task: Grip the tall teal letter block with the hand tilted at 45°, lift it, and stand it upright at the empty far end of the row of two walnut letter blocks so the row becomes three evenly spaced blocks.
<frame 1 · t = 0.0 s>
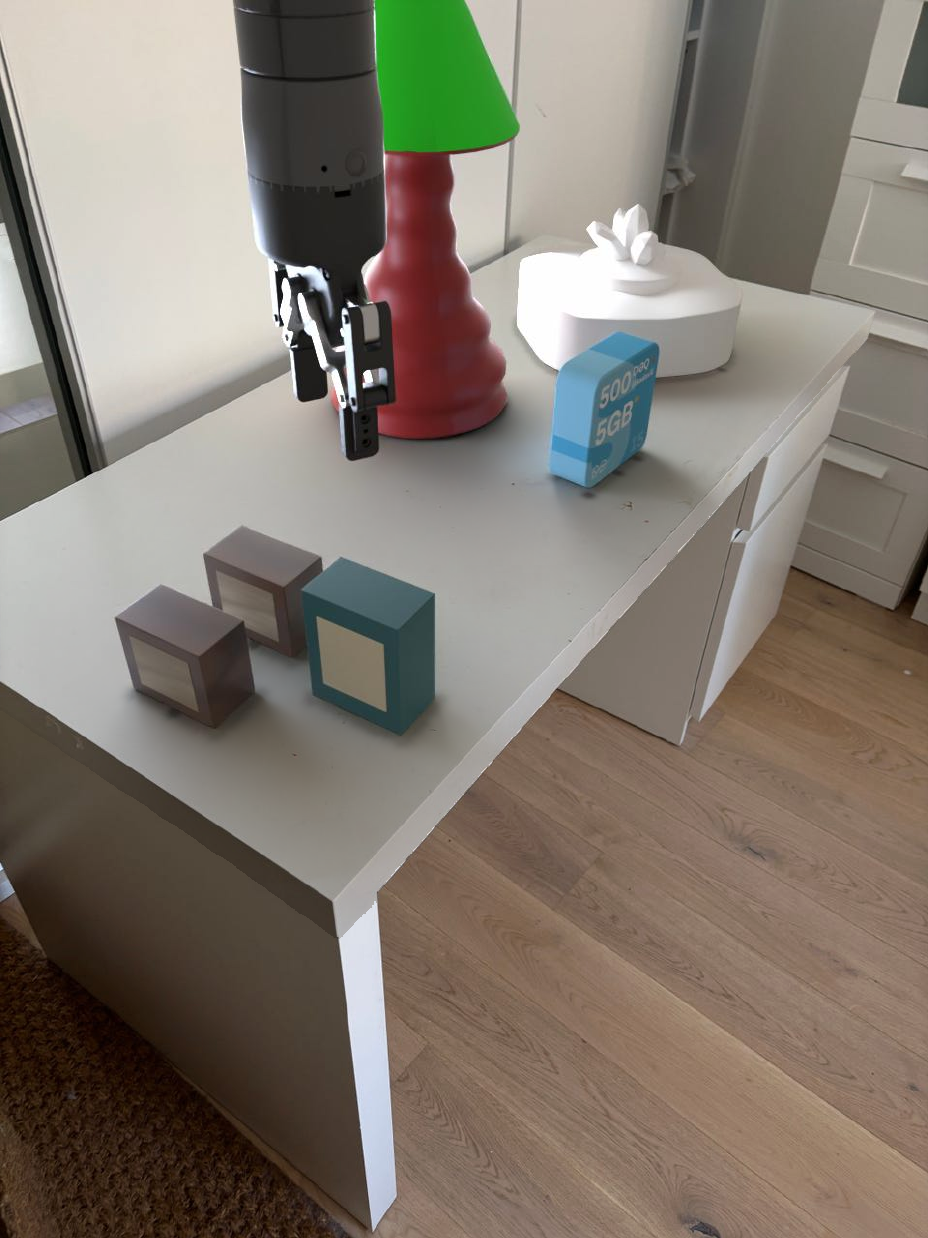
hand: (335, 425, 63), 20 cm above the table, tool pointing down, fingers open, 8 cm apart
walnut block 2: (271, 624, 79), on the table
table lamp: (419, 400, 109), on the table
walnut block 1: (194, 689, 73), on the table
teal block: (373, 696, 72), on the table
data package: (597, 463, 100), on the table
crystal-topped trinket box: (621, 336, 124), on the table
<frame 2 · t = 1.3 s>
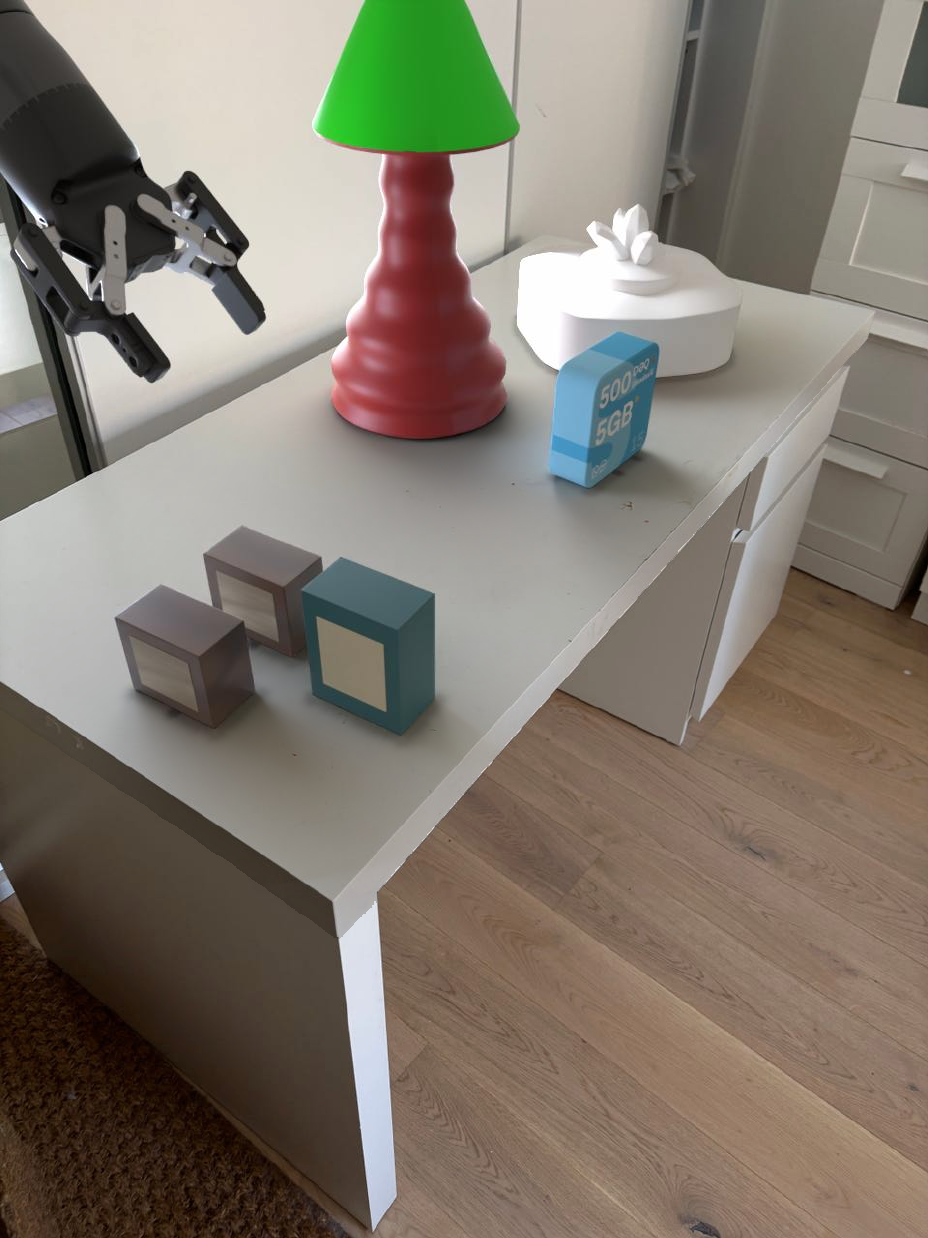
hand: (212, 350, 61), 25 cm above the table, tool tilted 45°, fingers open, 8 cm apart
nothing on the table moved.
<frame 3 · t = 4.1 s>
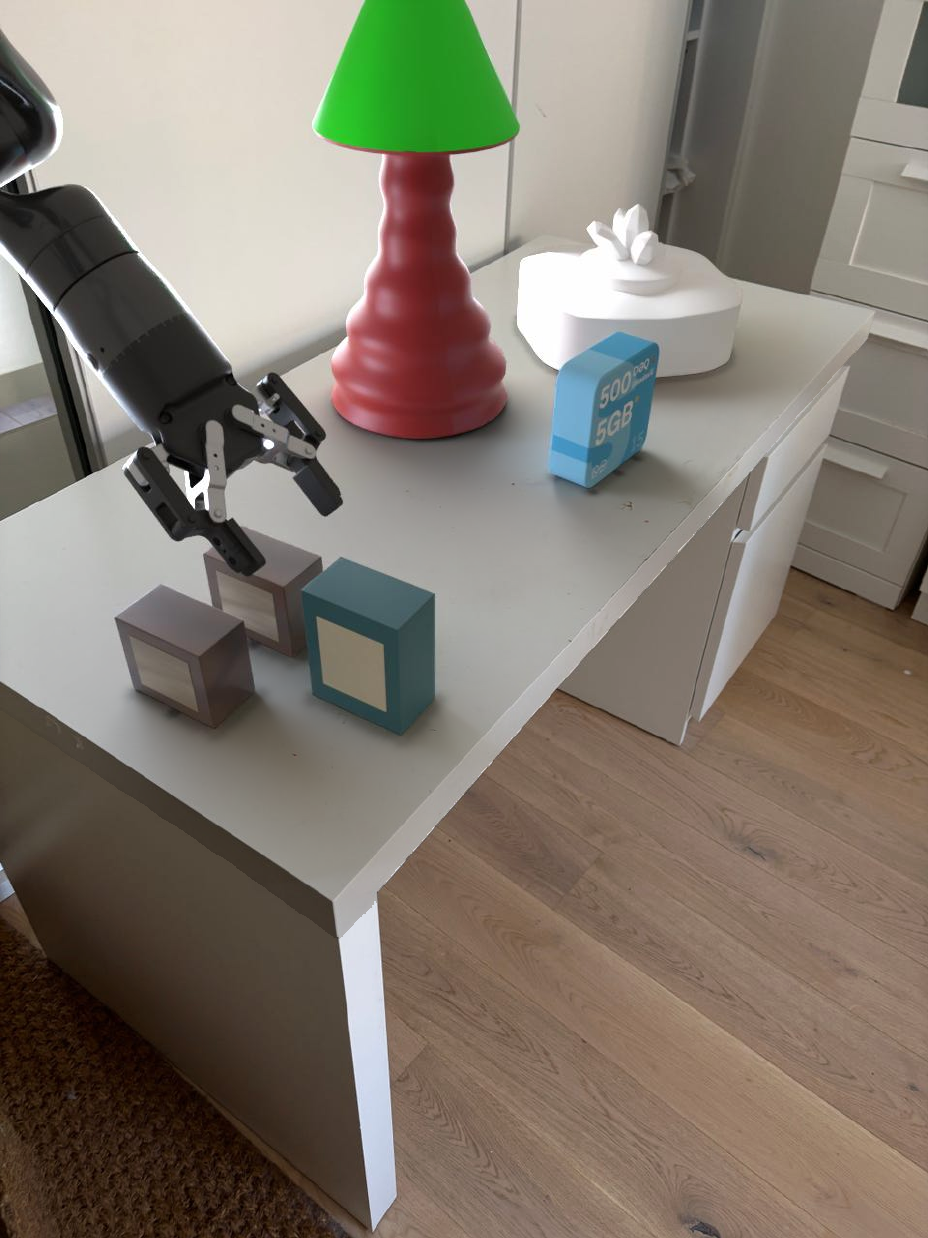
hand: (297, 539, 67), 12 cm above the table, tool tilted 45°, fingers open, 8 cm apart
nothing on the table moved.
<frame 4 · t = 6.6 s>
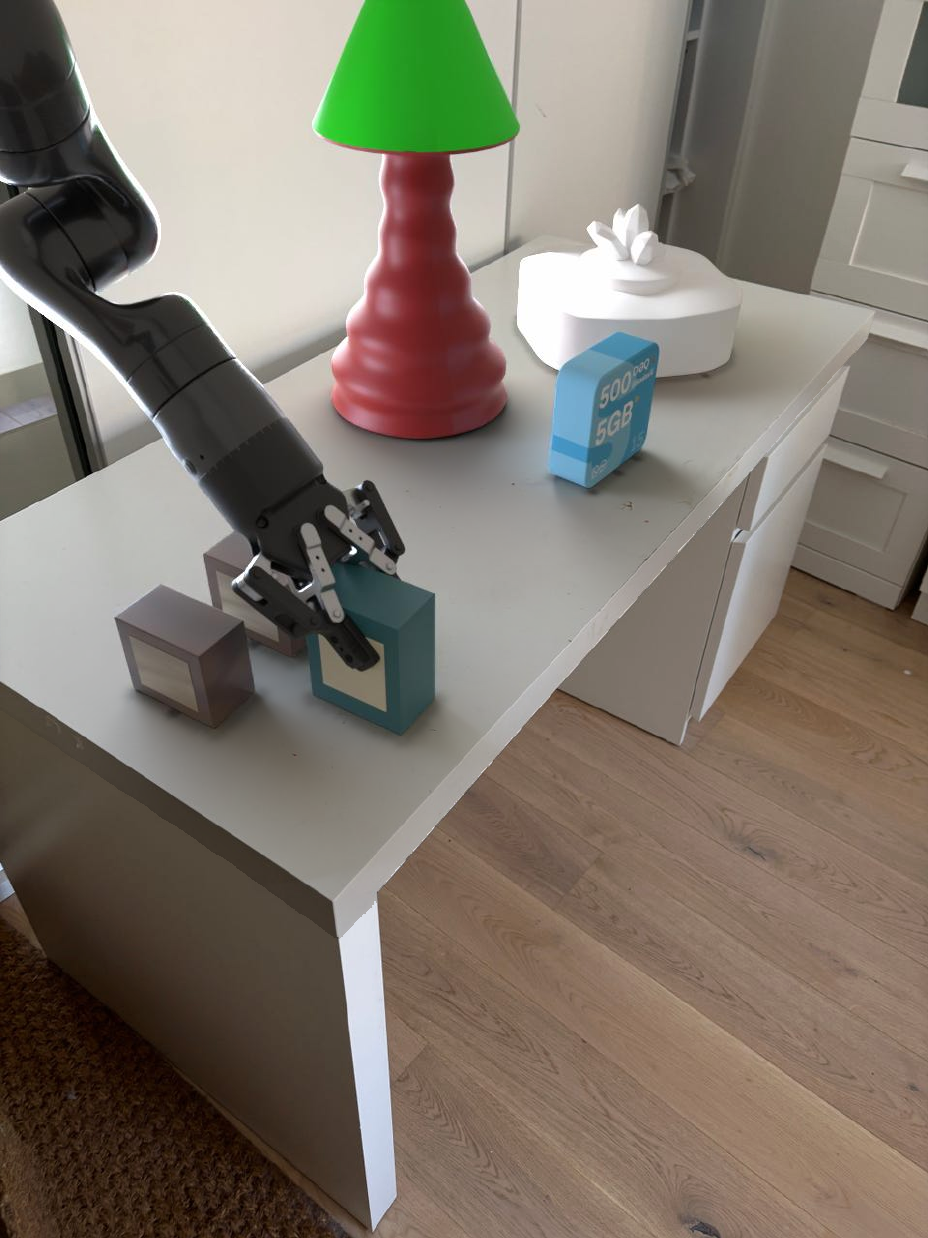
hand: (392, 643, 68), 6 cm above the table, tool tilted 45°, fingers closed on teal block, 4 cm apart
teal block: (373, 696, 72), on the table, touching gripper
everything else where it was.
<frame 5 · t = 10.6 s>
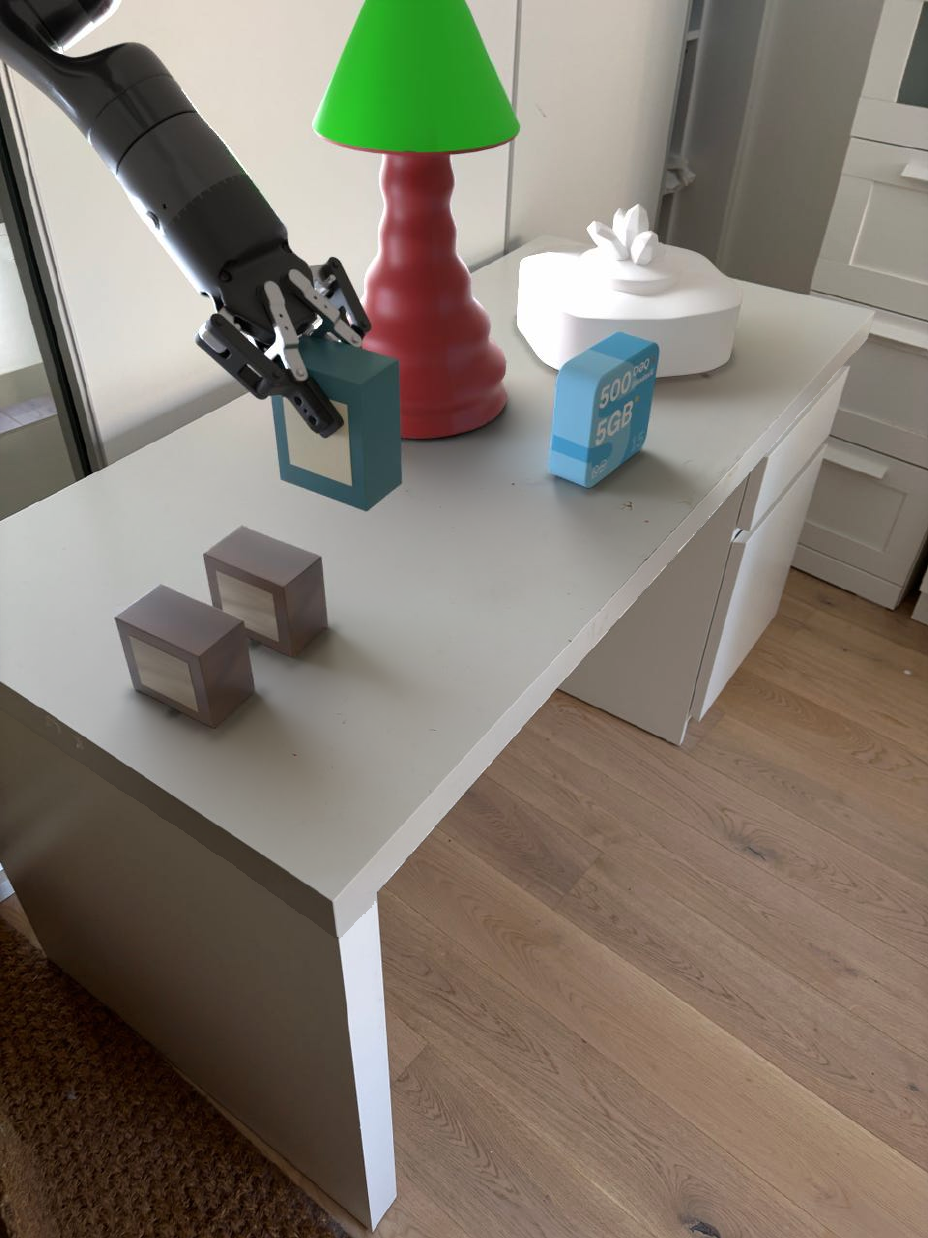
hand: (357, 415, 68), 18 cm above the table, tool tilted 45°, fingers closed on teal block, 4 cm apart
teal block: (341, 481, 73), point 12 cm above the table, touching gripper
everything else where it was.
when the fingers open (6 cm above the table, at t = 15.0 s): teal block stays where it is, on the table.
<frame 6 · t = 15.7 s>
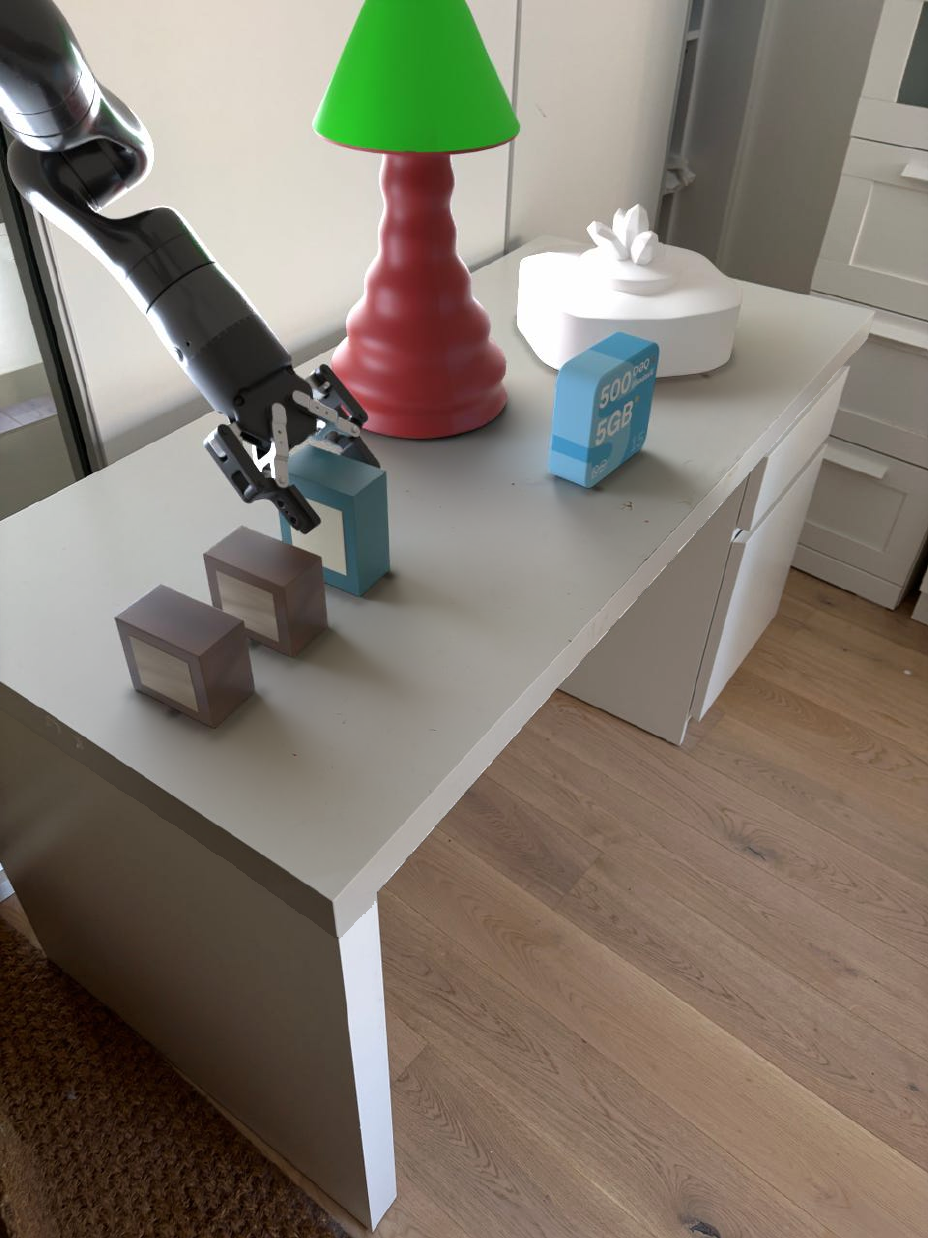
hand: (345, 504, 80), 7 cm above the table, tool tilted 45°, fingers open, 8 cm apart
teal block: (337, 567, 85), on the table
everything else where it was.
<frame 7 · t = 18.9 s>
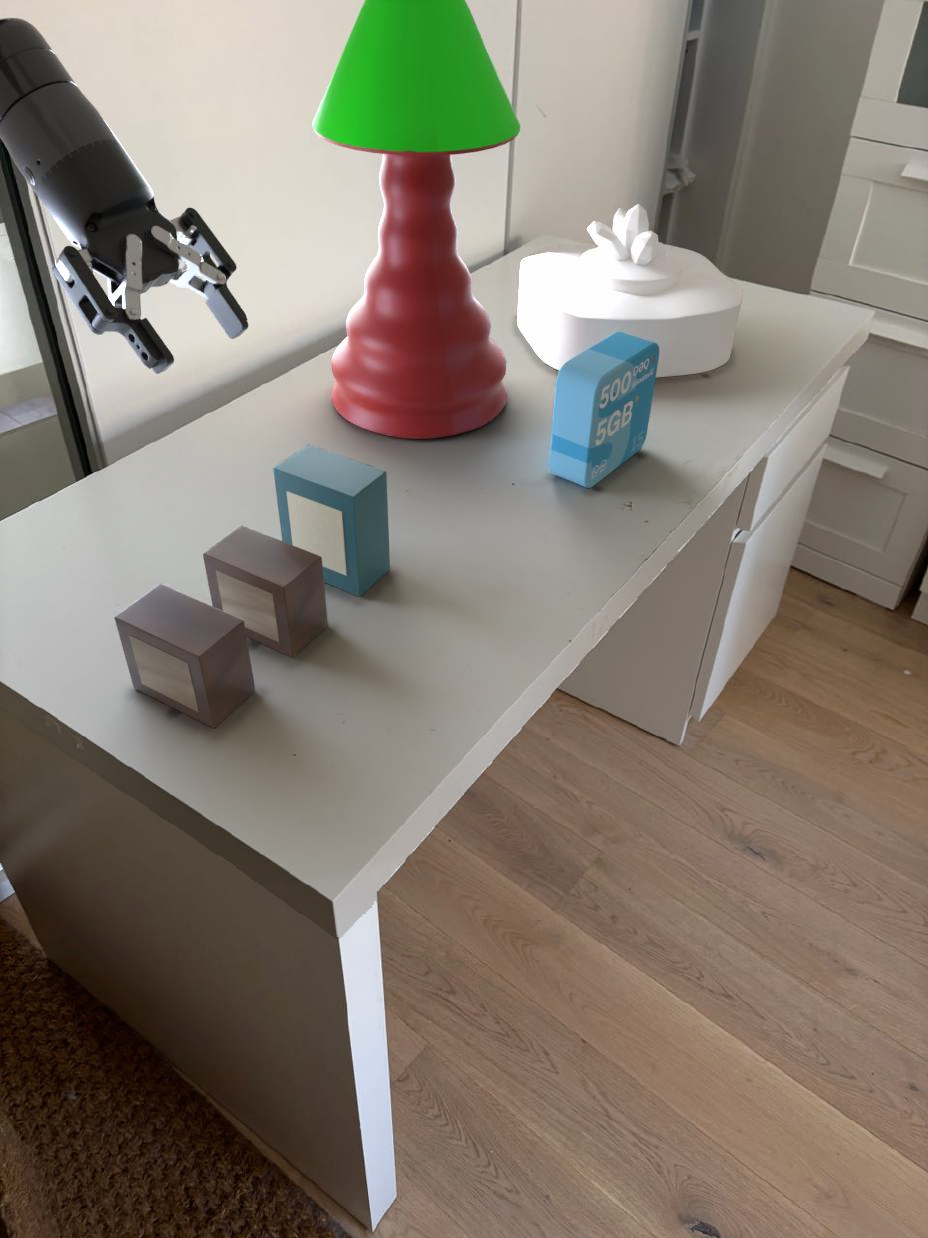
hand: (205, 349, 77), 18 cm above the table, tool tilted 40°, fingers open, 8 cm apart
nothing on the table moved.
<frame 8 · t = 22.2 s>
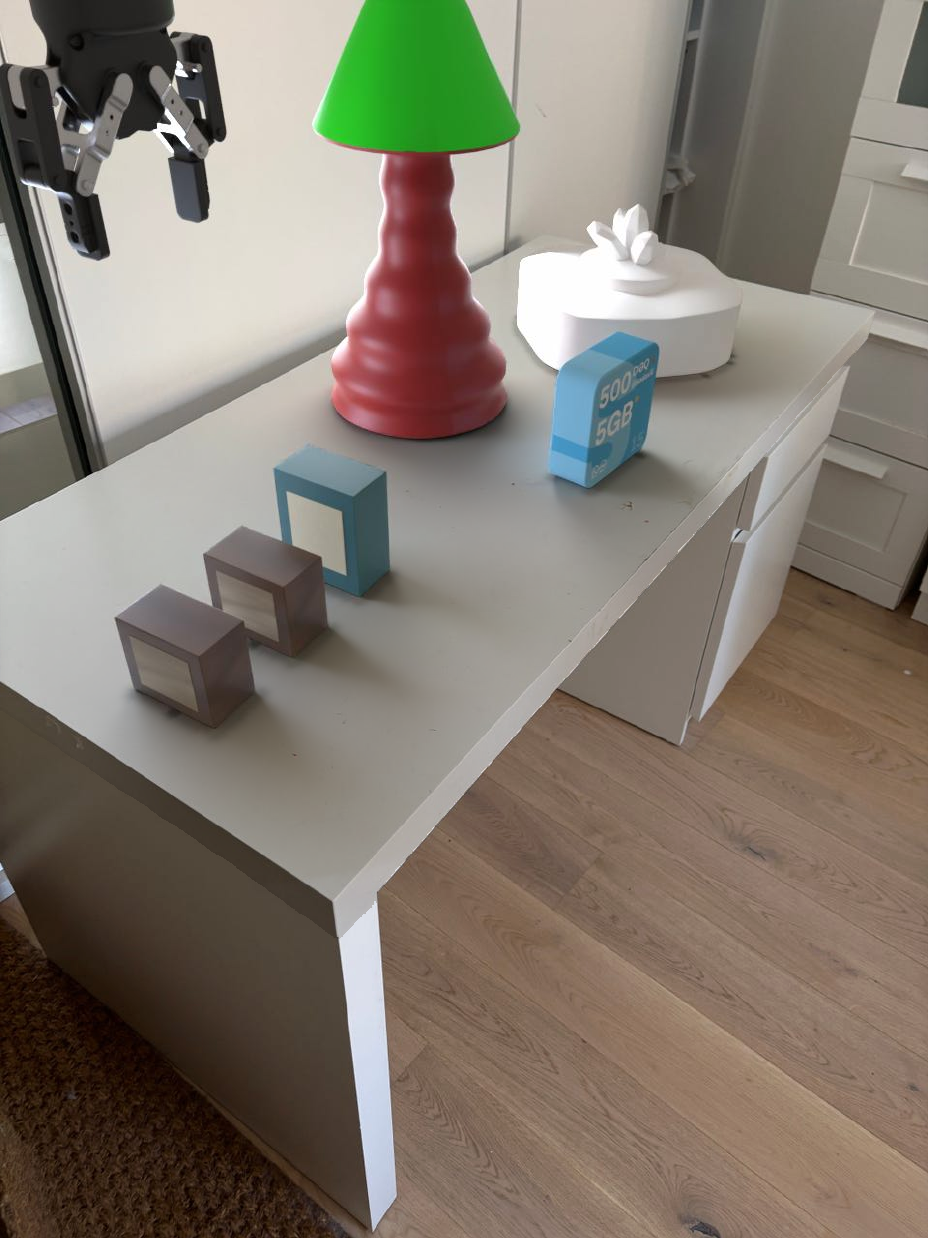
hand: (146, 237, 61), 30 cm above the table, tool pointing down, fingers open, 8 cm apart
nothing on the table moved.
at the end: teal block 0.0 cm from the target spot, on the table; teal block tilted 0°; walnut block 2 moved 0.0 cm from its start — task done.
